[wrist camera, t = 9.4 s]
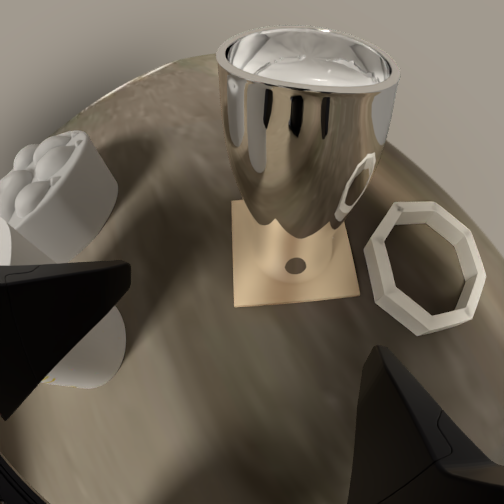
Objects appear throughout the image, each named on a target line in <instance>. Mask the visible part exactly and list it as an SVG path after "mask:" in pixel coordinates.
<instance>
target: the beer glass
mask: <svg viewBox="0 0 504 504" xmlns="http://www.w3.org/2000/svg"><path fill="white" fill-rule="evenodd" d="M216 60H217V63H218V74H219V92H220V105H221V117H222V125H223V132H224V139H225V145H226V149H227V154H228V158H229V162H230V167H231V170H232V173H233V175H234V178H235V181H236V183H237V186H238V189H239V191H240V193H241V196H242V198H243V200H244V202H245V205H246V207H247V209H248V211H249V213H250V215H251V217H252V220H253V222H254V226H255V229H254V233H253V237H252V244H251V249H252V255H253V258H254V261H255V263H256V264H257V266H258V267H259V269H260V270H261V271H262V272H263V273H264V274H265V275H267V276H268V277H270V278H271V279H273V280H275V281H278V282H281V283H286V284H300V283H305V282H308V281H310V280H312V279H314V278H316V277H317V276H319V275H320V274H321V273H322V272H323V271H324V270H325V269H326V267H327V266H328V264H329V262H330V259H331V256H332V248H333V236H334V234H335V232H336V231H337V229H338V228H339V227H340V225H341V224H342V223H343V222H344V220H345V219H346V218H347V217H348V215H349V214H350V213H351V211H352V210H353V209H354V207H355V206H356V204H357V203H358V201H359V200H360V198H361V197H362V195H363V193H364V192H365V190H366V189H367V187H368V185H369V183H370V181H371V179H372V177H373V174H374V172H375V170H376V167H377V165H378V163H379V160H380V157H381V154H382V151H383V148H384V145H385V141H386V138H387V134H388V130H389V126H390V121H391V117H392V112H393V107H394V101H395V96H396V91H397V86H398V82H399V80H400V75H401V74H400V69H399V67H398V65H397V63H396V62H395V61H394V60H393V58H392V57H390V56H389V55H388V54H387V53H386V52H385V51H383V50H382V49H380V48H379V47H377V46H375V45H373V44H372V43H370V42H368V41H365V40H363V39H361V38H358V37H356V36H353V35H350V34H347V33H344V32H340V31H336V30H332V29H326V28H320V27H313V26H302V25H282V26H270V27H263V28H258V29H253V30H249V31H246V32H243V33H240V34H238V35H236V36H233V37H232V38H230V39H228V40H227V41H225V42H224V43H223V44H222V45H221V46H220V47H219V49H218V50H217V53H216Z"/></svg>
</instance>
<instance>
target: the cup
mask: <svg viewBox="0 0 504 504" xmlns="http://www.w3.org/2000/svg"><path fill="white" fill-rule="evenodd" d="M42 264H57V263H56V262H55V261H53V260H52V259H51V258H49V257H48V256H47V255H45V254H44V253H43V252H42V251H40V250H39V249H38V248H37V247H35V246H34V245H33V244H32V243H31V242H29V241H28V240H27V239H26V238H25V237H23V236H22V235H21V234H20V233H19V232H17V231H16V230H15V229H14V228H13V227H12V226H11V225H9V224H8V223H7V222H6V221H5V220H4V219H3V218H1V217H0V265H42ZM125 348H126V331H125V326H124V322H123V319H122V316H121V314H120V312H119V311H118V309H117V307H116V306H114V307H113V308H112V309H111V310H110V312H109V313H108V314H107V315H106V316H105V317H104V318H103V319H102V320H101V321H100V322H99V323H98V324H97V325H96V326H95V327H94V328H93V329H92V330H91V331H90V332H89V333H88V334H87V335H86V336H85V337H84V338H83V339H82V340H81V341H80V342H79V343H78V344H77V345H76V346H75V347H74V348H73V349H72V350H71V351H70V352H69V353H68V354H67V355H66V356H65V357H64V358H63V359H62V360H61V361H60V362H59V363H58V364H57V365H56V366H55V367H54V368H53V369H52V370H51V371H50V373H49V374H48V375H47V376H46V377H45V378H44V379H43V380H42V381H41V382H40V383H46V384H53V385H60V386H69V387H78V388H96V387H99V386H102V385H104V384H105V383H107V382H108V381H109V380H110V379H111V378H112V377H113V376H114V375H115V374H116V372H117V371H118V369H119V367H120V365H121V363H122V360H123V357H124V354H125Z"/></svg>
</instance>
